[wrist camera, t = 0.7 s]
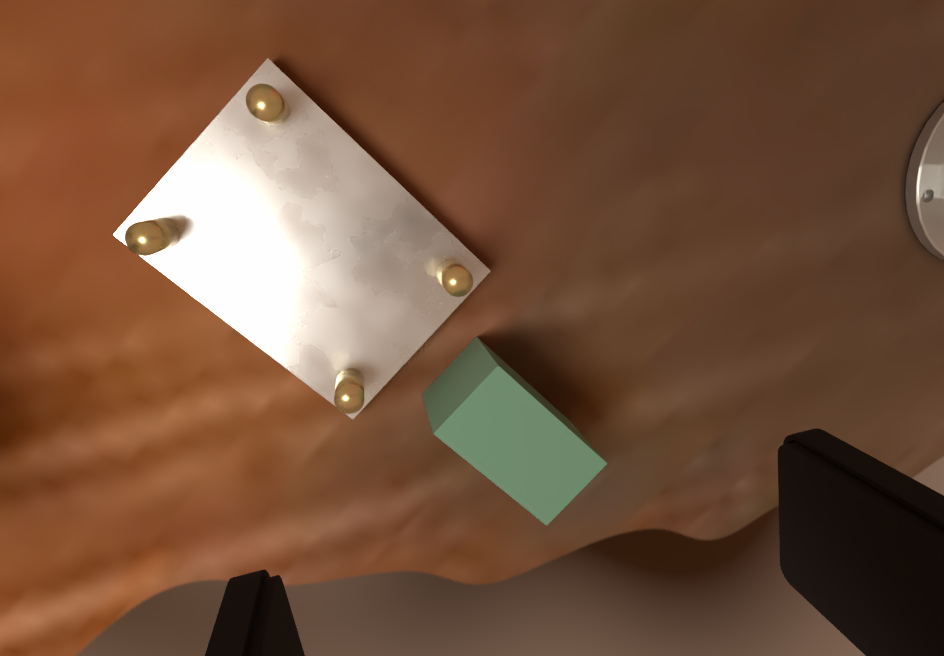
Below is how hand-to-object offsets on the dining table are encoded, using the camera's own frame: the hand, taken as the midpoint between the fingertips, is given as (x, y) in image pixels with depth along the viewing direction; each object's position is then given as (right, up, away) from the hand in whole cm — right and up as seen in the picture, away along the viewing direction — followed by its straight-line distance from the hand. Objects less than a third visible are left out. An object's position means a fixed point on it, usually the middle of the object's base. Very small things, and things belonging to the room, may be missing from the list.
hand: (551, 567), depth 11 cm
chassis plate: (-10, +9, +23) cm, 27 cm away
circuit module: (0, -1, +28) cm, 28 cm away
